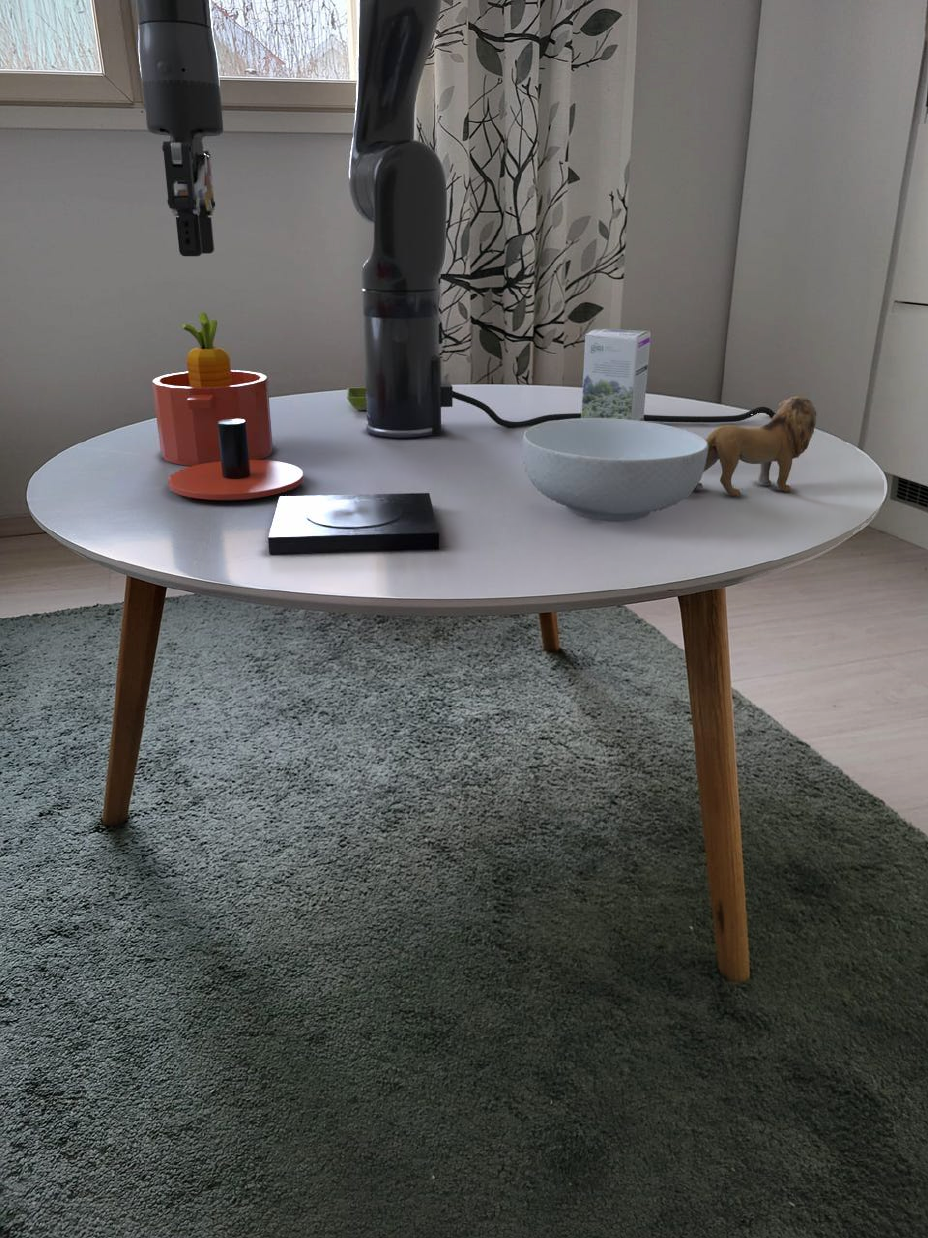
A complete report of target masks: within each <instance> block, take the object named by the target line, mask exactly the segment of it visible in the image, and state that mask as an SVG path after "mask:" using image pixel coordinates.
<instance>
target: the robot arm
mask: <svg viewBox="0 0 928 1238" xmlns="http://www.w3.org/2000/svg"><path fill="white" fill-rule="evenodd" d="M441 6H442V0H357V40H356V41H357V45H356V47H357V48H356V49H357V50H356V55H357V56H356V59H357V60H356V68H357V70H356V72H357V73H356V74H357V75H356V76H357V78H356V79H357V81H356V82H357V83H356V102H355V113H354V123H353V132H352V141H351V150H350V157H349V169H348V186H349V194H350V198H351V201H352V204H353V206H354V208H355V210H356V211H357V213H358V214H359V216H360V217H361V218H362V219H363V220H364V221H366V222H367V223H369V224H370V225H372V226H373V246H372V250H371V253H370V256H369V257H368V259H367V260H366V261H365V263H364V264H363V265H362V269H361V288H362V310H363V311H362V314H363V341H364V342H363V343H364V367H365V369H364V371H365V387H366V402H367V410H366V432H367V433H369V434H370V435H374V436H378V437H384V438H393V439H394V438H395V439H396V438H397V439H398V438H399V439H409V438H421V437H428V436H434V435H438V436H439V435H442V408H453V405H454V404H453V403H454V401H453V400H458V401H461V402H464V403H465V404H469V405H472V406H475V407H476V408H478V409H480V410H482V411H483V412H484V413H486V414H487V416H489V418H491V420H492V421H493V422H494V423H496V424H497V425H499V426H501V427H504V428H509V429H511V428H513V429H514V428H521V427H529V426H535V425H538V424H542V423H545V422H550V421H556V420H564V419H577V418H581V412H573V413H571V412H570V413H553V414H552V413H551V414H546V415H541V416H537V417H534V418H533V417H532V418H530V419H525V420H522V421H521V420H520V421H510V420H506V419H504V418H502V417H500V416H499V415H497V413H496V412H495V411H494V409H492V408H491V407H490V406H488V405H487V404H486V403H484V402H482V401H480V400H479V399H476V398H473V397H471V396H468V395H465V394H464V393H461V392H457V391H454V390H453V389H454V388H453V385H452V383H451V381H450V380H442V371H441V370H442V361H441V360H442V359H441V356H440V328H439V327H440V316H439V315H440V313H439V312H440V310H439V309H440V307H439V305H440V303H439V301H440V299H439V296H440V295H439V292H440V291H439V287H440V286H439V285H440V283H439V282H440V281H439V280H440V274H441V271H442V269H443V265H444V262H445V256H446V244H447V243H446V241H447V240H446V239H447V216H448V215H447V214H448V191H447V189H448V187H447V180H446V179H447V178H446V175H445V174H446V173H445V170H444V167H443V164H442V161H441V160H440V157H439V156H438V155H437V153H436V152H435V151H434V149H432V148H431V147H430V146H429V145H428V144H426V143H424V142H423V141H420V140H416V139H415V115H416V114H415V113H416V102H417V96H418V90H419V86H420V81H421V79H422V77H423V73H424V69H425V66H426V63H427V59H428V56H429V55H430V50H431V48H432V45H433V42H434V38H435V35H436V32H437V28H438V23H439V19H440V13H441ZM135 9H136V17H137V25H138V59H139V60H138V61H139V67H140V76H141V77H140V78H141V86H142V87H141V88H142V94H143V105H144V113H145V121H146V122H145V123H146V128H147V131H149V132H150V133H151V134H154V135H160V136H170V138H169V141H166V140H165V141H162V146H161V149H162V152H163V160H164V170H165V180H166V181H165V182H166V193H167V200H166V201H167V205H168V208H169V209H170V210H171V213H172V214H173V216H174V217H175V225H176V234H177V243H178V252H179V254H180V255H181V256H182V257H200V256H201V255H202V254H206V255H207V254H208V255H209V254H212V253H214V251H215V244H214V233H213V232H214V231H213V221H212V216H213V213H214V210H215V207H216V201H215V198H214V184H213V178H212V177H213V176H212V159H211V157H212V156H211V153H210V151H209V149H204V144H203V139H204V138H205V137H217V136H221V135H222V134H223V132H224V122H223V121H224V119H223V107H222V99H221V97H222V96H221V95H222V94H221V84H220V74H219V73H220V71H219V61H218V54H217V48H216V43H215V37H214V31H213V19H212V10H211V0H135ZM757 413H758V414H757ZM751 414H753V415H751ZM759 414H765V415H767V416H768V415H769V416H768V417H769V418H770V419H772V417H773V416H774V415H775V414H776V413H775V411H773V409H772V408H770V407H767V406H759V407H756V408H753V409H751V410H749V411H747V412H744V413H741V414H735V415H706V416H705V415H704V416H702V415H659V414H644V418H643V421H644V422H653V423H692V424H693V423H694V424H695V423H698V424H699V423H701V424H704V423H705V424H706V423H707V424H713V423H714V424H715V423H716V424H717V423H735V422H741V421H744V420H747V419H750V418H752V417H754V416H756V415H759Z"/></svg>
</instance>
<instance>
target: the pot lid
mask: <svg viewBox="0 0 928 1238" xmlns="http://www.w3.org/2000/svg"><path fill="white" fill-rule="evenodd" d="M217 428H218V438H219V448H220V457H221V461H219V462H211V463H205V464H200V465H195V466H188V467H185V468H182V469H180V470H178V471H176V472H173V473H172V474H170V476H169V477H168V479H167V484H168V488H169V490H170V491H172V492H173V493H175V494H176V495H179V496H183V497H186V498H193V499H201V500H210V501H222V502H223V501H225V502H226V501H246V500H255V499H260V498H264V497H269V496H274V495H277V494H278V495H279V494H282V493H285V492H289V491H290V490H291V491H292V490H293V489H295V488H297V487H298V486H300V485H301V484H302V483H303V481H304V479H305V478H304V471H303V470H302V468H300V467H298V466H296V465H294V464H291V463H287V462H282V461H276V460H267V459H259V460H249V450H248V439H247V428H246V421H245V420H242V419H224V420H220V421H218V422H217Z"/></svg>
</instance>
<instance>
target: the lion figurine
mask: <svg viewBox="0 0 928 1238" xmlns="http://www.w3.org/2000/svg"><path fill="white" fill-rule="evenodd" d="M817 415H818V413H817V411H816V408H815V406H814V404H813V402H812V401H811V400H810V399H809V398H806V397H805V396H790V397H789V398H788V399H784V400H783V401H781V402H780V403H779V404H778V410H777V412H776V413H775V415H774V416H773V417H772V418H771V419H770V421H769V422H768V423H766V424H765V425H763V426H761V427H743V426H738V425H733V424H728V425H727V424H725V425H722V426H719V427H717V428H716V429H714V430H713V431H712V432H711V433H710V434H709V435H708V436H707V438H706V439H705V440H706V441H707V443H708V454H707V458H706V464H705V467H704V471H703V473H705V472H706V471H707V470H709V469H710V468H712V466H714V465H715V464H717V462H718V461H719V463H720V465H721V476H720V479H719V482H720V483H721V485H722V487H723V488H724V490H725V492H726V494H727V495H728V496H729V497H734V498H735V497H740V496H741V495H742V492H741V491H740V489H738V488H735V487H733V484H732V478H733V475H734V473H735V471H736V469H737V467H738V464H739V462H740V461H741V462H743V463H745V464H750V465H760V468H759V469H760V470H759V475H758V479H757V480H758V481H757V484H758V485H759V486H764V487H767V486H768V487H769V486H771V484H772V480H770V470H771V466H772V463H773V462H776V463H777V465H778V476H777V480H776V485H777V489H778V491H780V492H784V493H789V492H791V490H792V488H791V486H790V485H789V484H787V481H788V479H789V475H790V472H791V469H792V467H793V460H794V459H798V458H799V457H800V456H801V455H802V454H803V453H805V451H806V450H807V449H808V448H809V445H810V442H811V439H812V437H813V435H814V432H815V428H816V425H817ZM703 487H704V486H703V483H701V482H699V483H698V485H697V486H696V488H695V489H694V491H692V492H691V493H692V494H693V493H695V492H696V491H702V490H703ZM691 493H690V494H691Z"/></svg>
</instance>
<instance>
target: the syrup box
mask: <svg viewBox="0 0 928 1238" xmlns="http://www.w3.org/2000/svg"><path fill="white" fill-rule="evenodd" d="M650 349H651V331H649V330H635V329H634V330H633V329H631V330H630V329H615V328H614V329H613V328H595V329H592V330H590V331H589V332H587V333H586V334H585V336H584V355H583V374H582V375H583V377H582V393H581V412H580V413H581V418H611V419H626V420H636V421H643V418H644V415H645V403H646V395H647V393H646V392H647V381H648V371H649V361H650Z"/></svg>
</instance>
